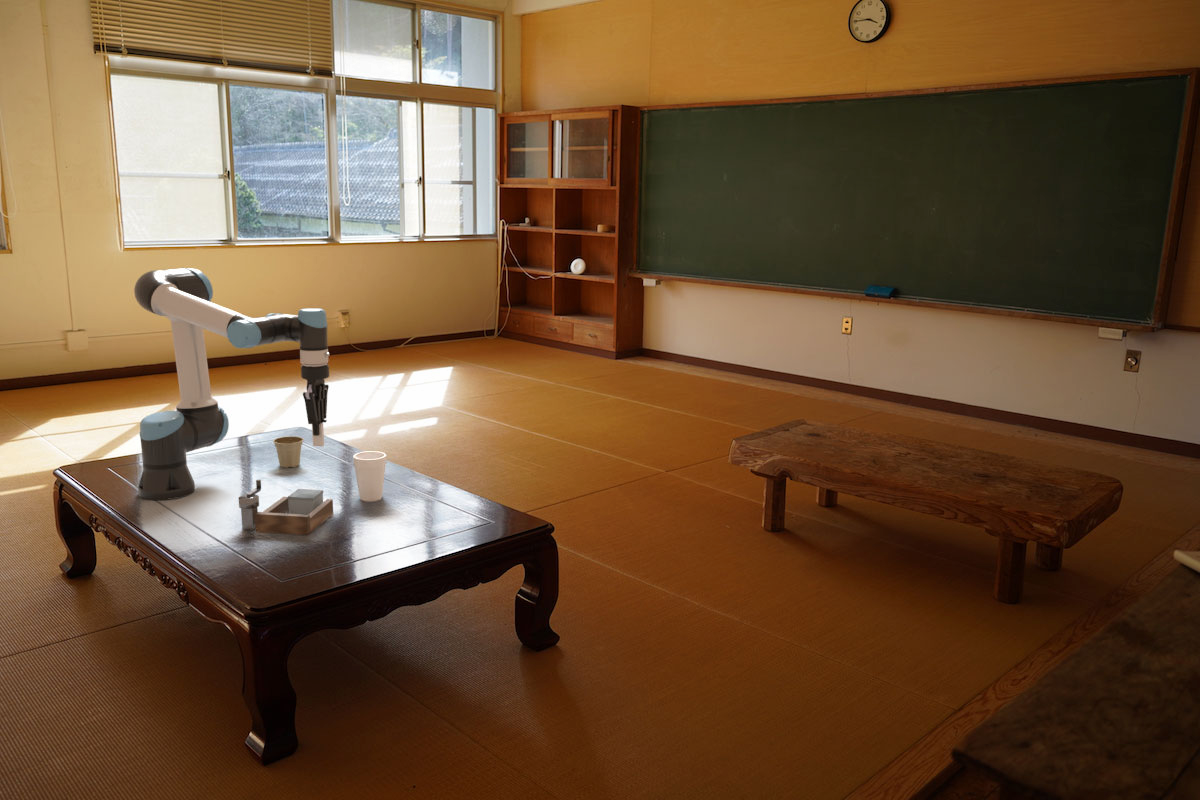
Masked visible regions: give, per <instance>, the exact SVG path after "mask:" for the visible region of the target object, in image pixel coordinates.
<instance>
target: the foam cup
mask: <svg viewBox="0 0 1200 800" xmlns="http://www.w3.org/2000/svg"><path fill="white" fill-rule="evenodd" d="M352 457H353V458H352V459H353V460H352V461H353V466H354V471H355V477H356V484H357V489H358V496H359V498H360V500H361V501H363V502H377V501H380V500H382V498H383V493H384V492H383V491H384V483H385V472H386V464H387V453H385V452H382V451H378V450H376V451H375V450H374V451H373V450H372V451H370V450H369V451H368V450H367V451H361V452H357V453H355V454H353V456H352Z"/></svg>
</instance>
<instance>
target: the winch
mask: <svg viewBox="0 0 1200 800" xmlns="http://www.w3.org/2000/svg"><path fill="white" fill-rule="evenodd" d="M255 484H256V486H255V487H256V488H254V489H252V490H251V491H250V492H248V493H246V494H243V495H240V496H238V508H240V511H241V512H240V513H241V529H242V530H251V531H252V530H253V531H254V530H255V513H257V512H259V510H258V507H260V497H259V495H258V493H259V492H261V490H262V480H261V479H256V480H255Z"/></svg>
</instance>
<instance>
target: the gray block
mask: <svg viewBox="0 0 1200 800" xmlns="http://www.w3.org/2000/svg"><path fill="white" fill-rule="evenodd" d="M287 497H288V505H289V511H288V514H303V515H308V514H310V513H311V512H312V511H313V510H314V509H316V508H317V507H318V506H319V505H321V504H322V503H323V502H324V490H323V489H312V488H311V489H309V488H297V489H296V490H295V491H293V492H292V493H291V494H289V495H288V496H287Z"/></svg>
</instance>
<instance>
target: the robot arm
mask: <svg viewBox="0 0 1200 800" xmlns="http://www.w3.org/2000/svg"><path fill="white" fill-rule="evenodd" d="M133 292H134V297H135V299H136V302H137V303H138V304H139V305H140V307H141V308H143V309H144V310H145V311H147V312H150V313H152V314H154V315H157V316H160V317H165V318H166V319H168V320H169V321H170V327H171V333H172V342H173V349H174V357H175V366H176V372H177V379H178V381H177V382H178V386H179V387H178V389H179V396H180V401H179V402H178V403H177V404H176V405H175V407H176V410H164V411H157V412H154V413H151V414H149V415H147V416H145V417H144V418H142V419H141V421H140V423H139V437H140V447H141V458H142V473H141V476H140V480H139V483H138V486H137V488H138V489H137V490H138V491H137V492H138V497H140V498H141V499H145V500H150V501H164V500H173V499H178V498H183V497H186V496H188V495H191V494H192V493H195V491H196V484H195V480H194V478H193V475H192V473H191V471H190V469H189V466H188V461H187V453H189V452H192V451H196V450H200V449H202V448H208V447H211V446H213V445H215V444H217V443H220V442H221V441H223V440H224V438H225V437H226V435H227V434H228V431H229V417H228V415H227V413H225V410H224V409H223V408H222V407H220V406H219V404H218V400H216V399H215V398H213V396H212V392H211V390H212V389H211V382H210V374H209V366H208V358H207V357H208V356H207V352H206V350H207V349H206V343H205V342H206V341H205V334H204V330H206V331H209V332H210V333H214V334H216V335H219V336H222V337H224V338H227V340H228V342H229V343H230V344H231V345H232V347H234V348H236V349H251V348H254V347H258V346H265V345H269V344H275V343H279V342H281V343H282V342H295V343H296V342H297V343H299V359H300V361H299V362H300V364H302V365H300V372H301V373H300V376H301V378H302V379H303V380H306V391H304V392H302V396H303V399H304V405H305V411H306V417H307V421H308V422H307V423H308V425H311V432H312V446H313V447H324V446H325V436H324V435H325V433H324V430H325V429H324V423H327V413H328V412H327V410H328V394H329V392H328V391H329V384H326V383H325V379H327V378H329V377H330V366H329V364H328V363H329V357H330V352H329V346H328V325H329V324H328V321H327V313H326V310H325V309H323V308H319V307H318V308H313V307H311V308H308V307H306V308H301V309H299V310H298V312H297V313H298V314H287V313H282V312H277V313H274V312H273V313H268V314H266V315H265V316H259V317H250V316H249V315H245V314H242V313H240V312H237V311H235V310H232V309H230V308H227V307H224V306H222V305H220V304H217V303H214V302H211V301H212V299H213V296H214V290H213V286H212V283H211V280H210V279H209V278H208V276H207V275H206V274H204V272H203V271H201V270H199V269H197V268H192V267H191V268H190V267H189V268H188V267H178V268H170V269H169V268H168V269H157V270H156V269H155V270H149V271H147V272H144V273H143V274H142V275H141V276H139V278H137V280H136V282H135V285H134V289H133Z"/></svg>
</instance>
